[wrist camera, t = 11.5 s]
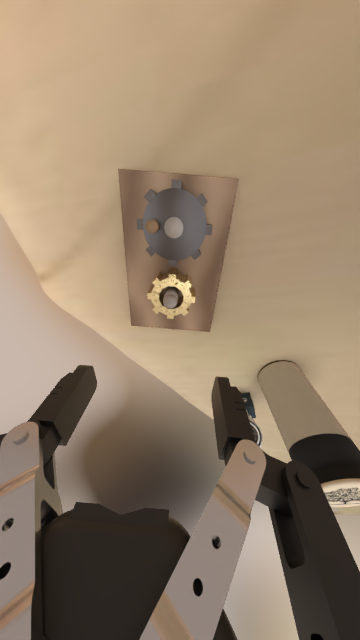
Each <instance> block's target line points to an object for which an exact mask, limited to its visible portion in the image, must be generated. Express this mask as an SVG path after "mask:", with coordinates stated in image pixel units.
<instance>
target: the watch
mask: <svg viewBox="0 0 360 640" xmlns="http://www.w3.org/2000/svg"><path fill="white" fill-rule="evenodd" d="M242 398H243V401H244V405H245V408H246V411H247V415H248V418H249V421H250V425H251V428H252V432H253V435H254V438H255V441H256V443H257V444H258V446H259V447H260V448H261V445H262V433H261V430H260V429H259V427H258V426H257V424H256V423H255V422H254V420H253V418H256V415H255V410H254V405H253V402H252V399H251V396H250V393H243V394H242Z"/></svg>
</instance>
